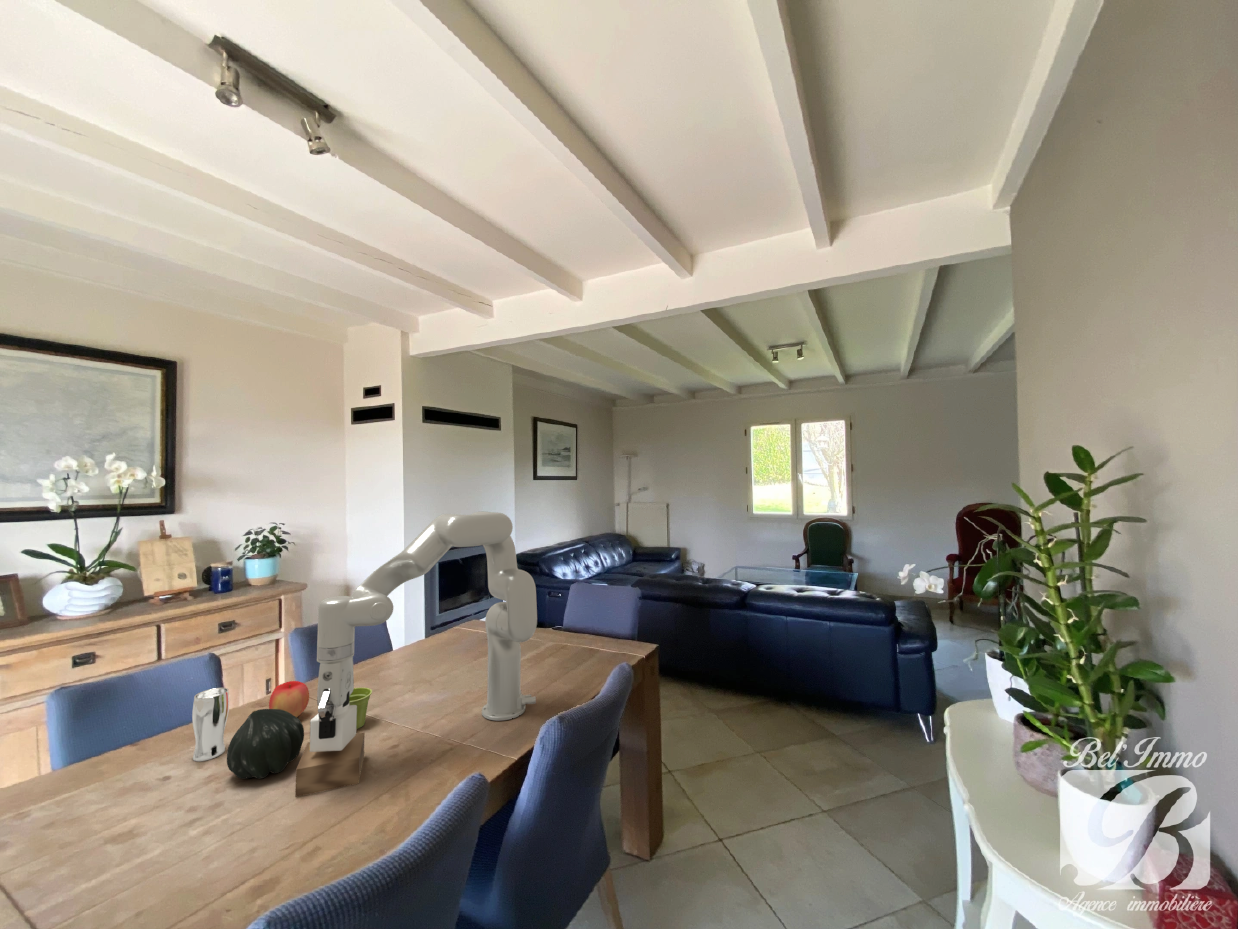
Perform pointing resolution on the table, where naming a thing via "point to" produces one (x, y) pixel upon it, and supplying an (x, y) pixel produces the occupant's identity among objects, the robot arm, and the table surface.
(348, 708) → the medicine bottle
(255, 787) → the table surface
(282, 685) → the apple
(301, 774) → the walnut block
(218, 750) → the silver metal vase
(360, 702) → the plant pot
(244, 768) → the squash
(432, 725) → the table surface
